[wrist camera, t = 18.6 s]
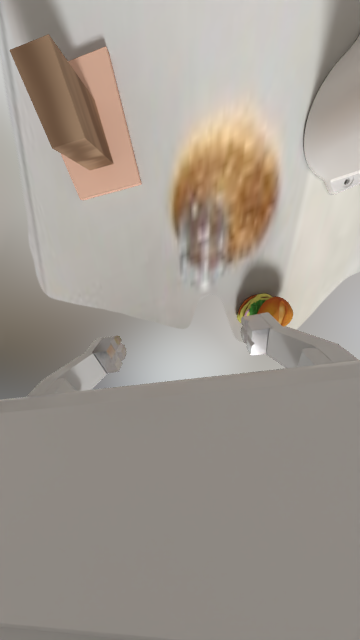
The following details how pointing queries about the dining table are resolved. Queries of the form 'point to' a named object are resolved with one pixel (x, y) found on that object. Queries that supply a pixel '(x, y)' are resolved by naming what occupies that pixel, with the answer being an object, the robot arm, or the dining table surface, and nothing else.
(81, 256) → the dining table surface
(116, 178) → the mat
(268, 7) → the dining table surface
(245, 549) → the robot arm
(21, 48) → the card box
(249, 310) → the cheeseburger
